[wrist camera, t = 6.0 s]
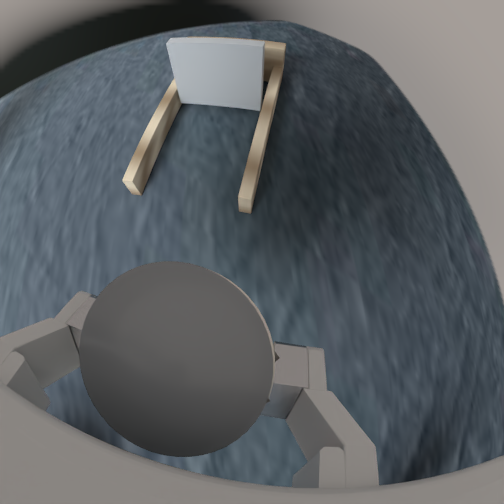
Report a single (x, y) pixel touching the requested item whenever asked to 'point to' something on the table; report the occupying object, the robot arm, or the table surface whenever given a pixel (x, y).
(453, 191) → the table surface
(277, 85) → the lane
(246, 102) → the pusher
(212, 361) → the jar
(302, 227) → the table surface
